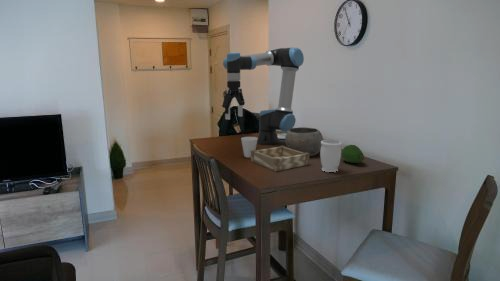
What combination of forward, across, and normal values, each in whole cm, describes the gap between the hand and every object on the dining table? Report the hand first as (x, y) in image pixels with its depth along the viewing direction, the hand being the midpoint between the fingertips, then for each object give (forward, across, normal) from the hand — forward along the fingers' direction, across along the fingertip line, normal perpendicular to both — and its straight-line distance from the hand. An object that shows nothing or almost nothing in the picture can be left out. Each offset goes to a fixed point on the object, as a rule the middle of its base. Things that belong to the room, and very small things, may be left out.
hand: (234, 117), depth 199 cm
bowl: (+24, -27, +33) cm, 49 cm away
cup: (+23, -4, +8) cm, 25 cm away
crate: (+23, 0, +29) cm, 37 cm away
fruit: (+24, -21, +64) cm, 71 cm away
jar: (+23, 0, +57) cm, 62 cm away
